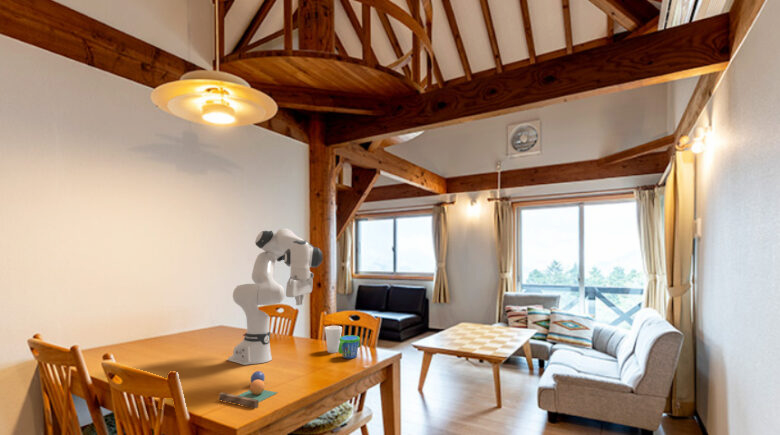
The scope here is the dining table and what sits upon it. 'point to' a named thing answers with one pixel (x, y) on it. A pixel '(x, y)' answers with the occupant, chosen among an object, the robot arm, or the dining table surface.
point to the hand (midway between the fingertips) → (299, 304)
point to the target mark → (259, 397)
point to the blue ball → (257, 376)
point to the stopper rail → (238, 400)
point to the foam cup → (333, 338)
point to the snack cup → (349, 346)
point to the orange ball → (257, 387)
